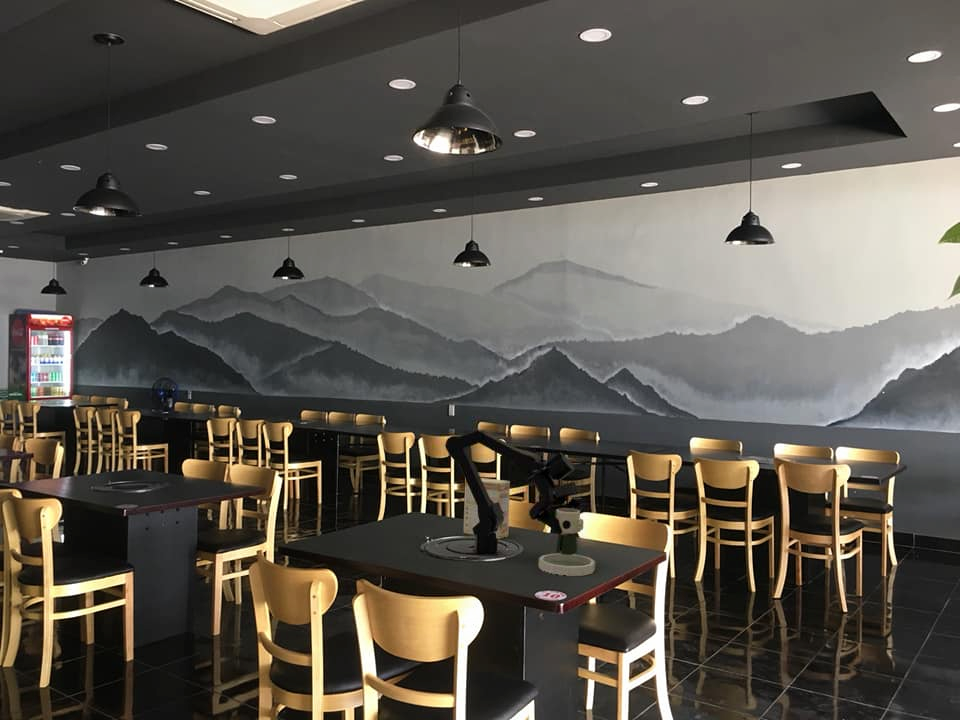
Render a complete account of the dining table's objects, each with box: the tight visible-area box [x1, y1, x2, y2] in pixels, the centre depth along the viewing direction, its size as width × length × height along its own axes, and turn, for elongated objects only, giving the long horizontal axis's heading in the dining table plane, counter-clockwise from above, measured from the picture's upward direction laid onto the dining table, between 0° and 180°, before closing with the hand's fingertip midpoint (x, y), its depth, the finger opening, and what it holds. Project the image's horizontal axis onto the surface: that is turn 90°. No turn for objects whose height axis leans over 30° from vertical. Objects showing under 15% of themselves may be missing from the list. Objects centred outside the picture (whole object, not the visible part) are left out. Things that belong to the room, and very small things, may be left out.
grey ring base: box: [538, 553, 596, 577], centre depth 223 cm, size 16×16×2 cm
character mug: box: [555, 508, 584, 555], centre depth 223 cm, size 11×7×13 cm, turn 48°
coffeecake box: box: [462, 477, 511, 540], centre depth 266 cm, size 15×7×20 cm, turn 54°
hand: (570, 532), depth 222 cm, fingers closed on character mug, 7 cm apart
